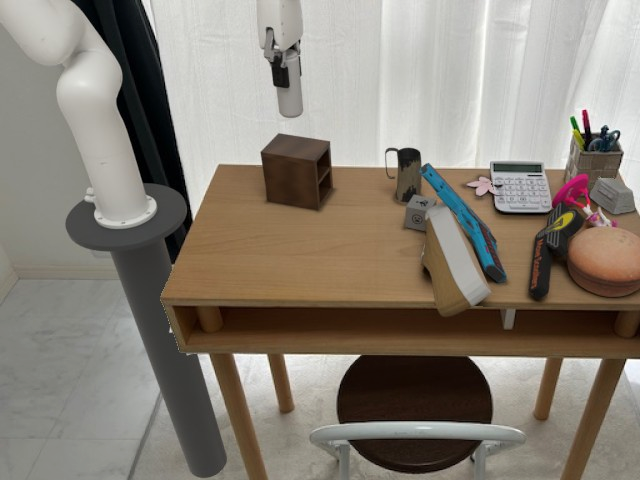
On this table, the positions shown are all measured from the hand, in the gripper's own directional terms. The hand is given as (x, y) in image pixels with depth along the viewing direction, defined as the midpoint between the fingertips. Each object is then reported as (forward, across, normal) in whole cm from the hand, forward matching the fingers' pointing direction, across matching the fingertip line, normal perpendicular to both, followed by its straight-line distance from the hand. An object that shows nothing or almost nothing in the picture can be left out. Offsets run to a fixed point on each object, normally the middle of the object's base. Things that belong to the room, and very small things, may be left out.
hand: (287, 80), depth 120 cm
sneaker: (+19, +15, +41) cm, 47 cm away
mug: (+27, -7, +22) cm, 35 cm away
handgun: (+17, +19, +41) cm, 49 cm away
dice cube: (+26, +2, +28) cm, 39 cm away
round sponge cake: (+17, +6, +66) cm, 69 cm away
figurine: (+21, -14, +57) cm, 62 cm away
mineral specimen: (+23, -16, +68) cm, 73 cm away
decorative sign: (+26, +6, +53) cm, 59 cm away
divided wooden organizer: (+26, -1, 0) cm, 26 cm away
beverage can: (+7, 0, 0) cm, 7 cm away
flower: (+25, -17, +39) cm, 49 cm away
